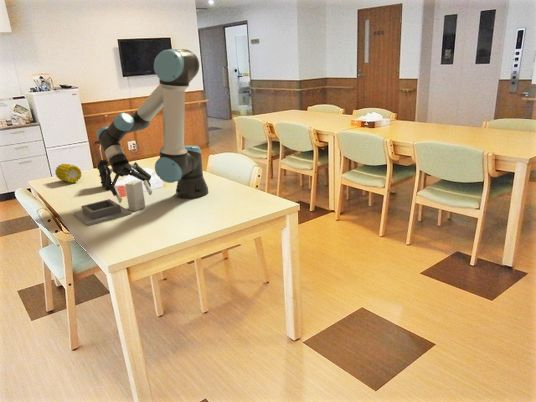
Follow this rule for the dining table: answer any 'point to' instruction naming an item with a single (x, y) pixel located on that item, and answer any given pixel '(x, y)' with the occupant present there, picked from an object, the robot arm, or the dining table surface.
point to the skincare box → (135, 195)
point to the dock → (100, 212)
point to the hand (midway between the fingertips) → (136, 197)
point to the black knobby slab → (103, 172)
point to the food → (68, 173)
